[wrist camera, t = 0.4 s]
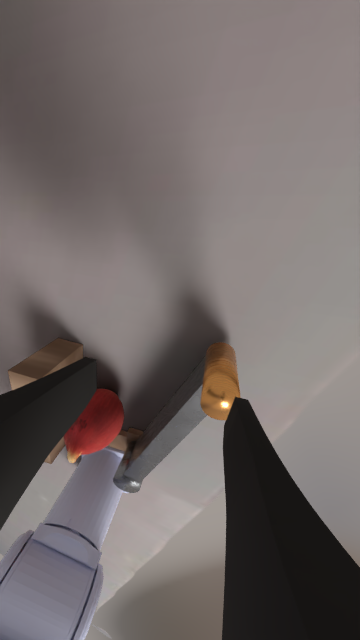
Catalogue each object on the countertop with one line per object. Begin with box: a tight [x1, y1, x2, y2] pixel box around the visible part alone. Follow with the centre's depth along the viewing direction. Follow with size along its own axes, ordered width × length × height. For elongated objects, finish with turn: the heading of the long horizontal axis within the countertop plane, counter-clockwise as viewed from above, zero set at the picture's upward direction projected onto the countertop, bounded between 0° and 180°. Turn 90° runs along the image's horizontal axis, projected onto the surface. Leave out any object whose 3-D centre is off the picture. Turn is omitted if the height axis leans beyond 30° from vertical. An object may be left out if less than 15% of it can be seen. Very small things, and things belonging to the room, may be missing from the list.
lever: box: [113, 342, 240, 493], centre depth 20 cm, size 21×3×6 cm, turn 149°
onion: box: [63, 389, 124, 463], centre depth 21 cm, size 6×6×8 cm
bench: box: [8, 338, 143, 464], centre depth 23 cm, size 15×13×6 cm
